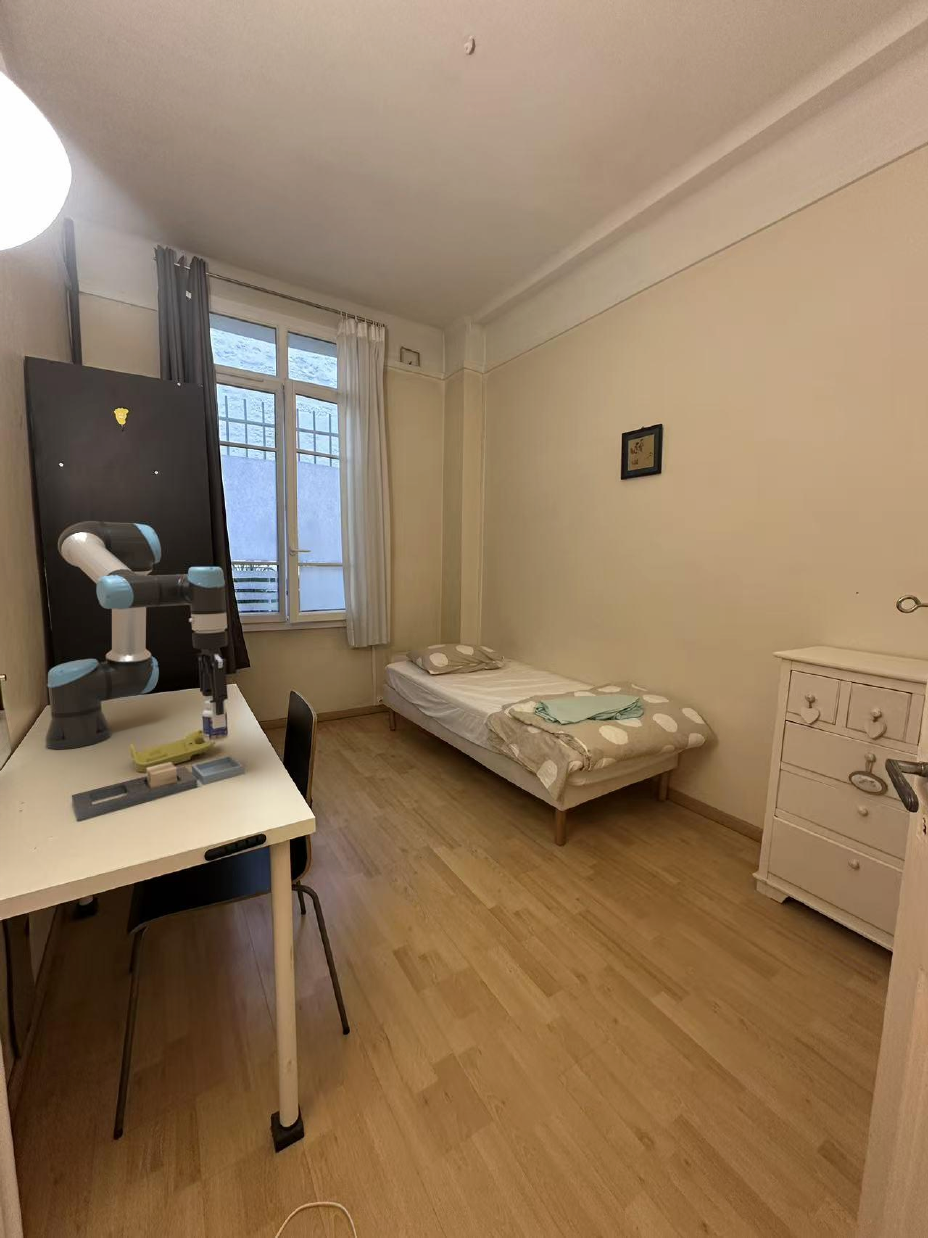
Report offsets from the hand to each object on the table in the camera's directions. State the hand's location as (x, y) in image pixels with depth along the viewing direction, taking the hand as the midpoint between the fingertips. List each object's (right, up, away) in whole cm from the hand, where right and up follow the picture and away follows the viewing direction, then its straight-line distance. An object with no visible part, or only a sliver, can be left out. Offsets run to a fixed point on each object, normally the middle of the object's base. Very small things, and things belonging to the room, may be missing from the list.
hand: (215, 724), depth 120 cm
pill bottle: (0, -4, 0) cm, 4 cm away
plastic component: (-16, -12, +10) cm, 22 cm away
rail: (-12, -14, -10) cm, 21 cm away
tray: (0, -13, +1) cm, 13 cm away
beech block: (-9, -14, -7) cm, 17 cm away
